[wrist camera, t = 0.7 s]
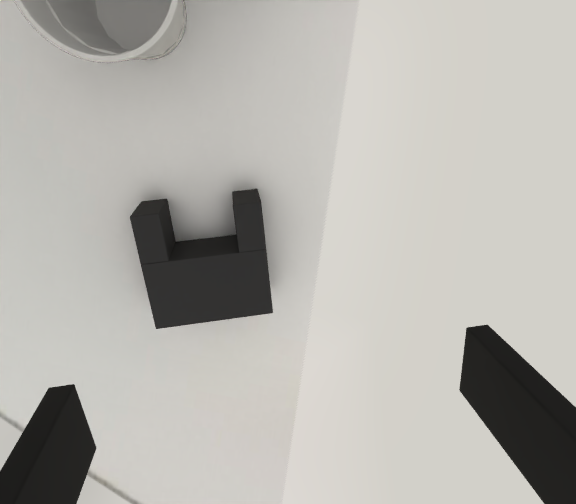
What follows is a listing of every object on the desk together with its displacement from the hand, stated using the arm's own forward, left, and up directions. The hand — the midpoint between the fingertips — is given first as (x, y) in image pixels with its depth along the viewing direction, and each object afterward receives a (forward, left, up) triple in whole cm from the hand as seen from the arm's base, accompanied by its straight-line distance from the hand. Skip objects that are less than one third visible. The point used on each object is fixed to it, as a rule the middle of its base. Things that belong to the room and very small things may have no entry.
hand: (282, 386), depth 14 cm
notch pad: (+4, -4, -25) cm, 25 cm away
